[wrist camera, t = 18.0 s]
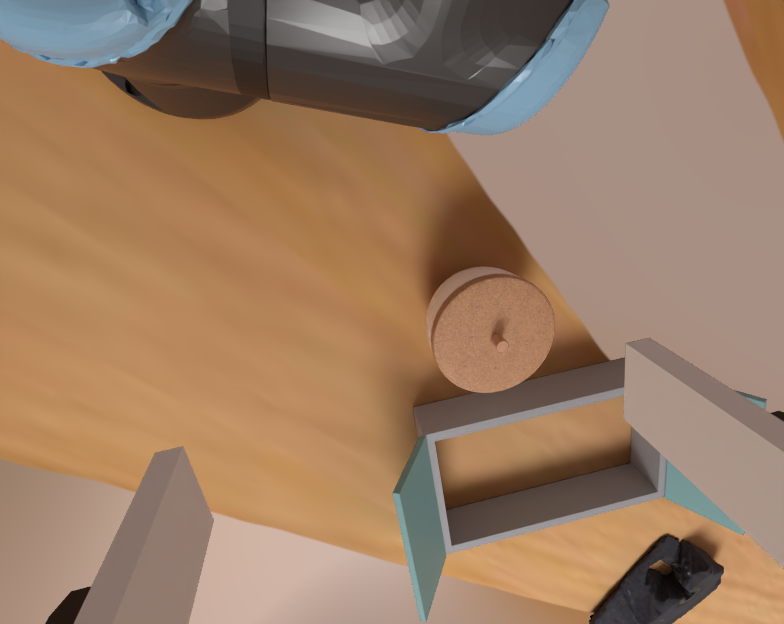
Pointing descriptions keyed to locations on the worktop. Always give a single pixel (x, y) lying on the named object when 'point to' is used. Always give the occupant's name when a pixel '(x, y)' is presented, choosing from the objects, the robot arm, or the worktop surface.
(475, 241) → the worktop surface
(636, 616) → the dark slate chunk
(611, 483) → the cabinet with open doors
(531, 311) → the lidded jar
